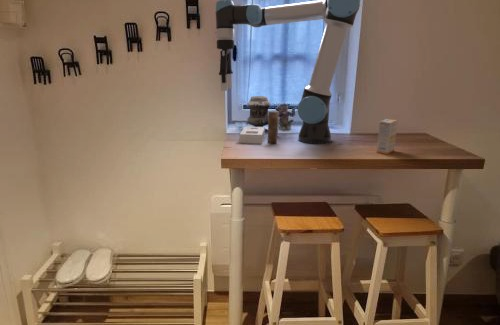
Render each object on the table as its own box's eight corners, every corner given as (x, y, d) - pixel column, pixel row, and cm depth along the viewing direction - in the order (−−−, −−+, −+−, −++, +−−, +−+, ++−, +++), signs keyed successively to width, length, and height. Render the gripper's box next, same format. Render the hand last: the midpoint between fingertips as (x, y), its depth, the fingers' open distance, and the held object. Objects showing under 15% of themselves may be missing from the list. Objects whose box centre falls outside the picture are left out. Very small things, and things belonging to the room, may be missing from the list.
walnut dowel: (276, 141, 169) (277, 111, 165) (276, 143, 165) (277, 112, 161) (268, 141, 169) (268, 111, 166) (267, 143, 165) (268, 112, 162)
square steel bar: (277, 135, 182) (278, 111, 179) (277, 137, 178) (278, 112, 175) (269, 135, 183) (270, 111, 179) (269, 137, 179) (269, 112, 176)
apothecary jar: (259, 128, 202) (260, 94, 197) (274, 131, 193) (275, 96, 188) (242, 130, 195) (242, 96, 190) (257, 134, 186) (258, 98, 181)
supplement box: (383, 149, 157) (386, 118, 154) (394, 150, 154) (398, 119, 151) (375, 152, 151) (379, 120, 148) (387, 154, 148) (391, 122, 145)
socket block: (264, 134, 184) (265, 126, 183) (261, 143, 165) (261, 134, 164) (245, 134, 185) (245, 126, 184) (239, 142, 166) (239, 134, 165)
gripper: (221, 41, 171) (222, 87, 177) (211, 37, 147) (213, 91, 153) (237, 40, 171) (237, 87, 176) (230, 37, 147) (231, 91, 152)
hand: (226, 89), depth 164 cm, fingers open, 13 cm apart
